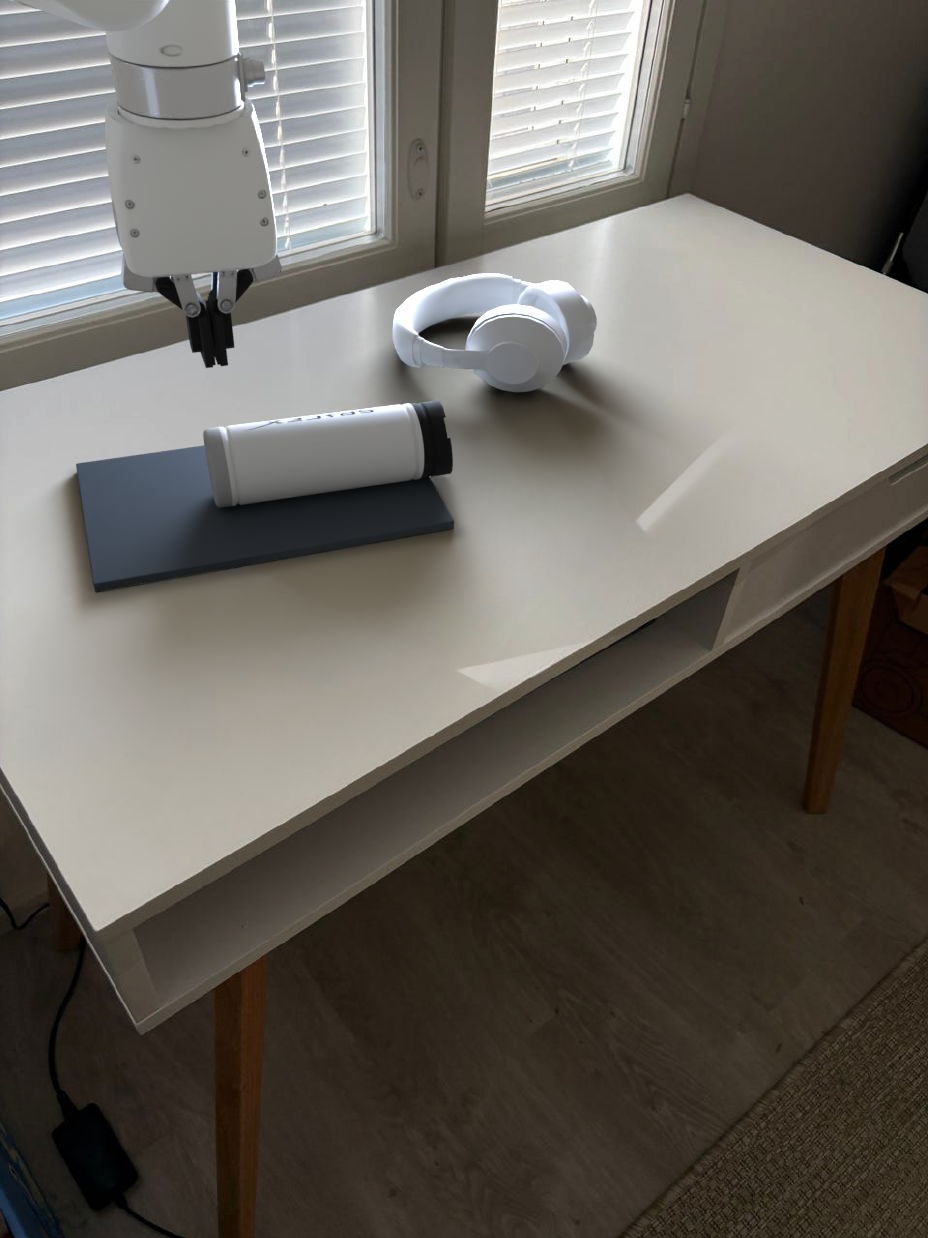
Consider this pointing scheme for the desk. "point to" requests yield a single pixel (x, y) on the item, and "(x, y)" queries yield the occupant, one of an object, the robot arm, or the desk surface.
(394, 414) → the travel mug
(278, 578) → the desk surface
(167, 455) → the mat
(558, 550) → the desk surface
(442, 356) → the headphones
